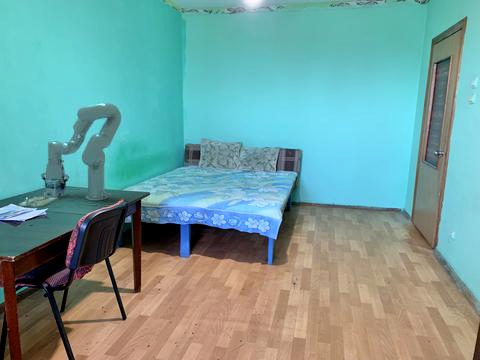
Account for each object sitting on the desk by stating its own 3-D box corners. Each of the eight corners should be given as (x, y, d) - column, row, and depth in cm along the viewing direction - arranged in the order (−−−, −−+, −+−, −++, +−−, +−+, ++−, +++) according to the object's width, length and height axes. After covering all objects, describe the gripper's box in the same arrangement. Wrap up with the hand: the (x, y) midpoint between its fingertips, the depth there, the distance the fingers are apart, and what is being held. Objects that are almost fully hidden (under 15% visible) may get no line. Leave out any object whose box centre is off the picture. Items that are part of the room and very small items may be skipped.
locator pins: (51, 198, 222) (50, 192, 221) (36, 204, 206) (36, 198, 205) (40, 197, 221) (40, 191, 221) (25, 204, 206) (24, 198, 205)
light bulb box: (56, 198, 225) (55, 181, 223) (46, 197, 226) (45, 180, 224) (66, 194, 235) (66, 178, 233) (57, 193, 236) (56, 177, 234)
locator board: (58, 199, 223) (58, 197, 223) (42, 207, 205) (42, 205, 205) (35, 198, 223) (35, 196, 222) (17, 205, 205) (17, 203, 205)
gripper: (71, 161, 230) (71, 188, 233) (44, 159, 230) (44, 186, 233) (66, 163, 223) (66, 191, 226) (37, 161, 223) (38, 188, 226)
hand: (55, 188), depth 230 cm, fingers open, 9 cm apart
